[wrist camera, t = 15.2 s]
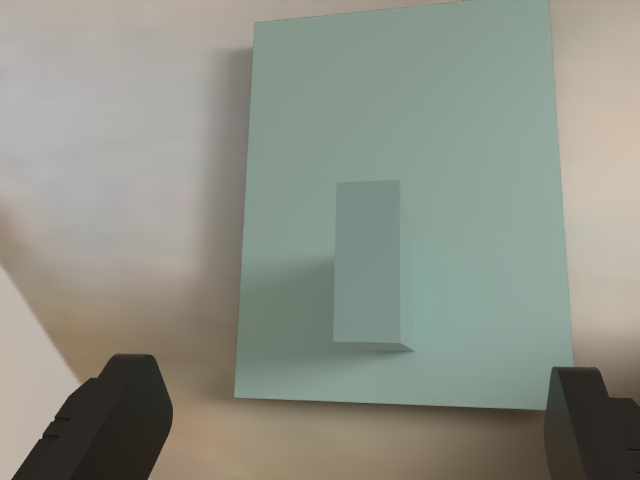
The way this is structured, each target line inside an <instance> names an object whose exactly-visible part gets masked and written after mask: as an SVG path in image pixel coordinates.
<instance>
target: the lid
mask: <svg viewBox="0 0 640 480" xmlns="http://www.w3.org/2000/svg"><path fill="white" fill-rule="evenodd" d="M554 366H557V367H574V362H573V347H572V333H571V318H570V304H569V289H568V274H567V260H566V245H565V230H564V216H563V201H562V186H561V172H560V157H559V143H558V128H557V113H556V99H555V84H554V69H553V55H552V40H551V25H550V11H549V0H472V1H462V2H452V3H442V4H433V5H423V6H413V7H403V8H393V9H383V10H373V11H364V12H354V13H344V14H334V15H324V16H314V17H305V18H295V19H285V20H275V21H265V22H255V25H254V43H253V61H252V79H251V97H250V115H249V133H248V152H247V170H246V188H245V206H244V224H243V242H242V260H241V279H240V297H239V315H238V333H237V351H236V369H235V387H234V398H259V399H284V400H309V401H334V402H358V403H383V404H408V405H433V406H458V407H482V408H507V409H532V410H546V406H547V398H548V391H549V383H550V376H551V370H552V368H553V367H554Z"/></svg>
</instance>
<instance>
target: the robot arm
mask: <svg viewBox="0 0 640 480" xmlns="http://www.w3.org/2000/svg"><path fill="white" fill-rule="evenodd" d="M172 419H173V407H172V403H171V400H170V397H169V394H168V392H167V389H166V386H165V383H164V381H163V378H162V375H161V373H160V370H159V367H158V364H157V362H156V360H155V358H154V357H153V356H152V355H147V354H115V355H114V356H112V357H111V359H110V360H109V361H108V363H107V364H106V366H105V367H104V369H103V370H102V372H101V373H100V375H99V376H98V378H90V379H89V380H87V381H86V382H85V383H84V384H83V385H81V386H80V387H79V388H78V389H77V390H76V391H74V392H73V393H72V394H71V395H70V396H69V397H68V398H67V400H66V401H65V403H64V404H63V406H62V407H61V408H60V410H59V412H58V413H57V414H56V416H55V420H54V422H51V423H50V424H49V426H48V427H47V429H46V430H45V432H44V433H43V437H42V439H39V440H38V442H37V443H36V445H35V446H34V448H33V449H32V450H31V452H30V453H29V455H28V456H27V458H26V459H25V461H24V462H23V464H22V465H21V466H20V468H19V469H18V471H17V472H16V474H15V475H14V477H13V478H12V479H11V480H148V478H149V475H150V473H151V471H152V469H153V467H154V465H155V463H156V460H157V458H158V456H159V454H160V452H161V450H162V447H163V445H164V443H165V441H166V439H167V437H168V434H169V432H170V429H171V425H172ZM544 439H545V449H546V455H547V460H548V465H549V470H550V475H551V479H552V480H640V407H639V406H638V405H637V404H636V403H635V402H634V401H633V399H632V398H609V396H608V393H607V390H606V387H605V385H604V382H603V379H602V376H601V374H600V372H599V370H598V369H597V368H596V367H557V366H554V367H553V368H552V370H551V376H550V383H549V391H548V398H547V406H546V413H545V421H544Z"/></svg>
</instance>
